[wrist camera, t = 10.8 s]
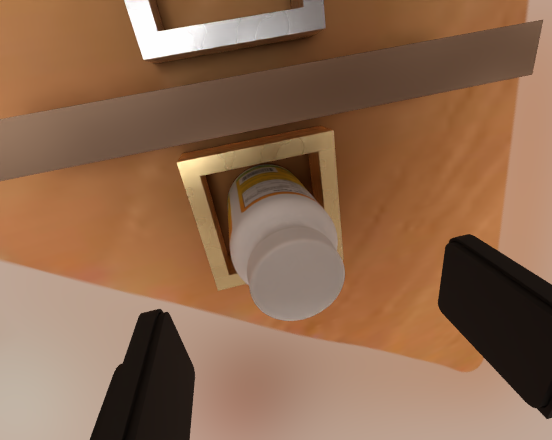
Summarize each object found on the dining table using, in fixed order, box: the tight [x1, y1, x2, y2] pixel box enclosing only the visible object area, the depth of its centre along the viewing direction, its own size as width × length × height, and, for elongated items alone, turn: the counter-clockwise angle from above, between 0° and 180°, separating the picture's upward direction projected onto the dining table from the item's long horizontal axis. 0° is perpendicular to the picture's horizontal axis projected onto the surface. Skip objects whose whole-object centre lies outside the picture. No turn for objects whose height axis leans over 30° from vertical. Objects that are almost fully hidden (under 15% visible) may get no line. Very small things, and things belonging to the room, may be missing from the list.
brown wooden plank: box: [0, 20, 543, 181], centre depth 14 cm, size 2×24×7 cm, turn 99°
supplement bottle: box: [227, 164, 345, 321], centre depth 16 cm, size 5×5×10 cm
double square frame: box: [124, 0, 344, 291], centre depth 16 cm, size 23×9×2 cm, turn 9°
